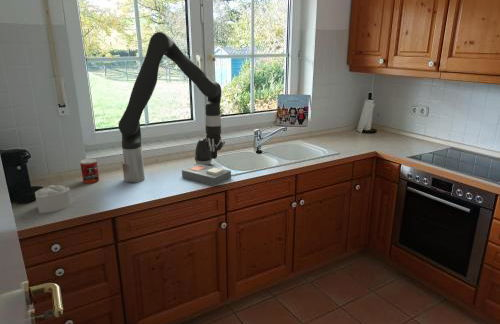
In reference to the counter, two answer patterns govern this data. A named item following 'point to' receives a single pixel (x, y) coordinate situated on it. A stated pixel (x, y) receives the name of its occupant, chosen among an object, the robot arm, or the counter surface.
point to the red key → (197, 168)
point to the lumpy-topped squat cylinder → (53, 198)
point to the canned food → (89, 171)
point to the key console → (206, 175)
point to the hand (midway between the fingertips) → (214, 158)
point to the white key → (215, 171)
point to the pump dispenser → (202, 153)
